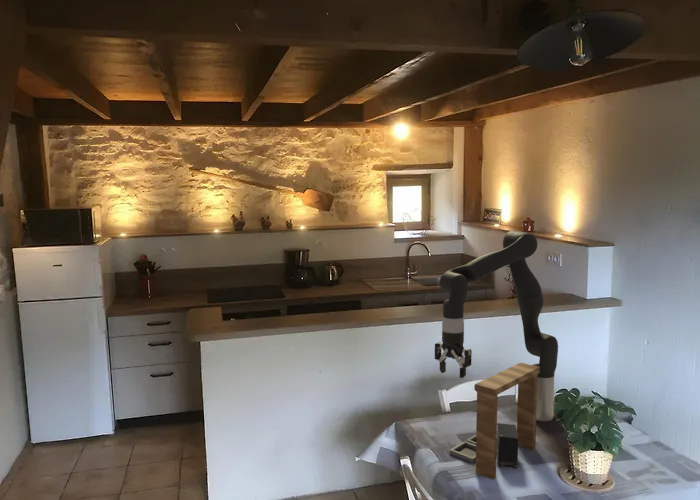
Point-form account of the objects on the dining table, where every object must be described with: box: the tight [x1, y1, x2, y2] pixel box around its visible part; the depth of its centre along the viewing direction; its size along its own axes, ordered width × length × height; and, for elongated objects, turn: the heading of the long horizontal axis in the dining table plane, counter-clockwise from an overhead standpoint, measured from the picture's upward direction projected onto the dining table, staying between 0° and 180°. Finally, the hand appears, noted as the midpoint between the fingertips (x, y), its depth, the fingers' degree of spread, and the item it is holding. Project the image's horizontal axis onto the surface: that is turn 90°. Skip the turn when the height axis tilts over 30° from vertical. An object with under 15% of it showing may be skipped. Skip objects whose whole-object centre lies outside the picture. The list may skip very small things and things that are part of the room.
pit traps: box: [449, 434, 476, 464], centre depth 192 cm, size 19×9×2 cm, turn 135°
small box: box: [496, 422, 519, 469], centre depth 183 cm, size 11×6×10 cm, turn 168°
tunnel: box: [474, 362, 540, 480], centre depth 182 cm, size 29×7×29 cm, turn 135°
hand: (452, 374), depth 196 cm, fingers open, 7 cm apart
